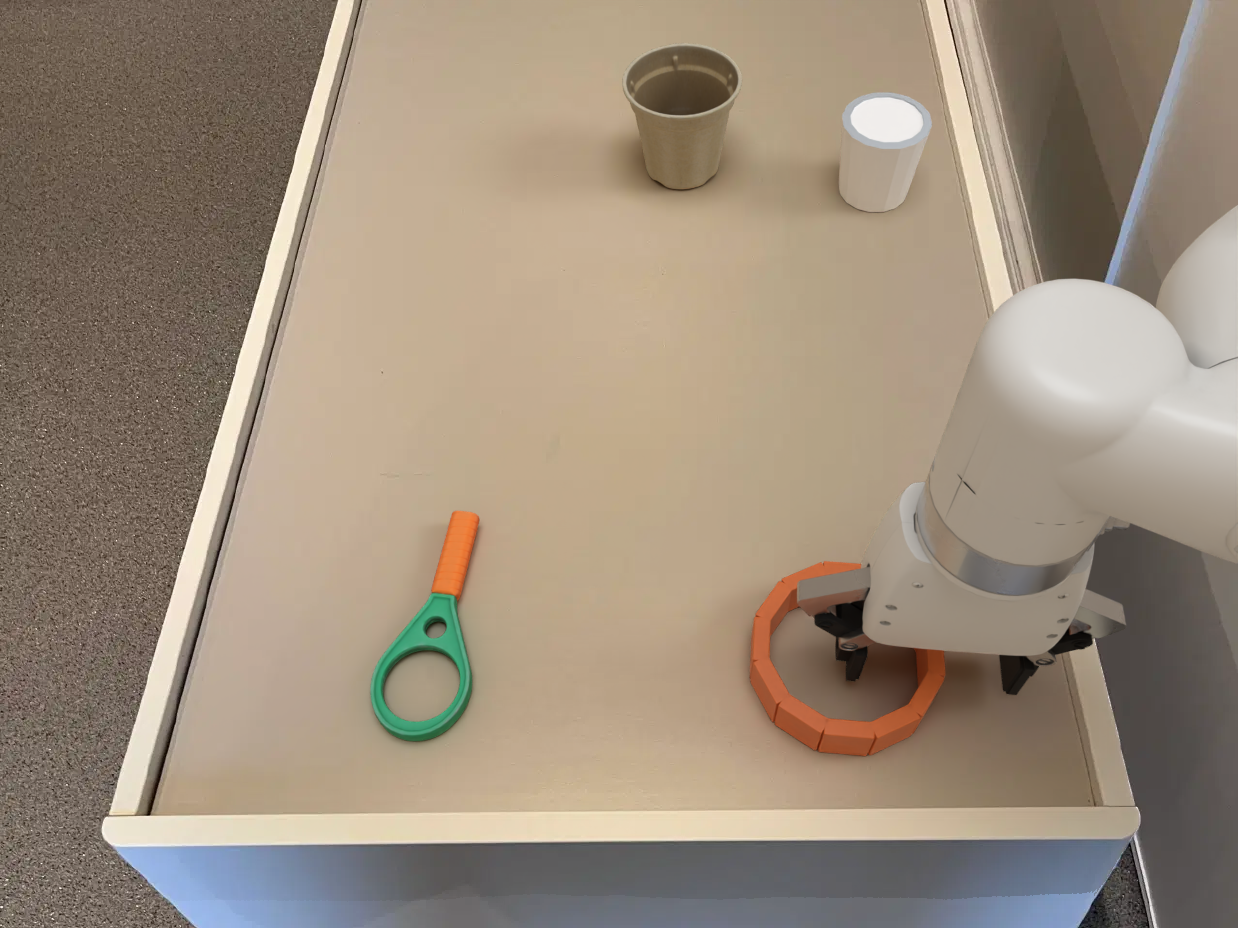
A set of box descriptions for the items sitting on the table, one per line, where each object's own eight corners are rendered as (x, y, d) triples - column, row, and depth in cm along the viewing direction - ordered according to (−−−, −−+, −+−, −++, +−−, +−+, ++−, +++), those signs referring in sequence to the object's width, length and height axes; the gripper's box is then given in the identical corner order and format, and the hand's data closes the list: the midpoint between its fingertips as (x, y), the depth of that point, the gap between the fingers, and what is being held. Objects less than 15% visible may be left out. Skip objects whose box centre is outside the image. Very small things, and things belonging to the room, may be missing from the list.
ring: (928, 591, 66) (938, 568, 64) (939, 762, 60) (950, 745, 58) (753, 578, 67) (756, 555, 65) (746, 745, 61) (749, 727, 59)
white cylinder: (855, 151, 90) (868, 80, 84) (929, 180, 87) (947, 109, 81) (815, 197, 87) (825, 127, 81) (891, 229, 84) (907, 159, 78)
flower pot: (607, 152, 91) (601, 65, 84) (702, 117, 93) (704, 29, 86) (659, 218, 86) (657, 132, 79) (758, 179, 88) (765, 92, 81)
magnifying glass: (458, 748, 62) (453, 738, 61) (360, 735, 63) (353, 725, 61) (512, 528, 70) (509, 515, 69) (425, 518, 71) (420, 505, 70)
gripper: (1187, 457, 49) (1071, 618, 64) (812, 434, 51) (781, 596, 65) (1221, 601, 45) (1088, 739, 59) (811, 571, 47) (779, 712, 61)
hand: (928, 664), depth 62 cm, fingers open, 8 cm apart
